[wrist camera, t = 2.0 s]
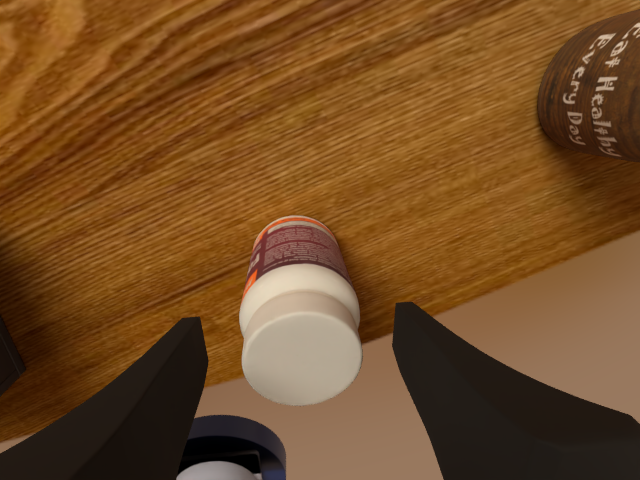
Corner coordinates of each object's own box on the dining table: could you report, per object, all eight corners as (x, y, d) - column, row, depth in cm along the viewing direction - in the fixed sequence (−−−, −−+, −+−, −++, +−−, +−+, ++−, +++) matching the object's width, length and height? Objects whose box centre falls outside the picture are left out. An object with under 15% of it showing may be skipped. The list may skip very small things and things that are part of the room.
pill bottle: (243, 221, 18) (210, 316, 10) (332, 206, 18) (369, 289, 10) (262, 297, 19) (247, 426, 12) (342, 283, 20) (379, 402, 12)
